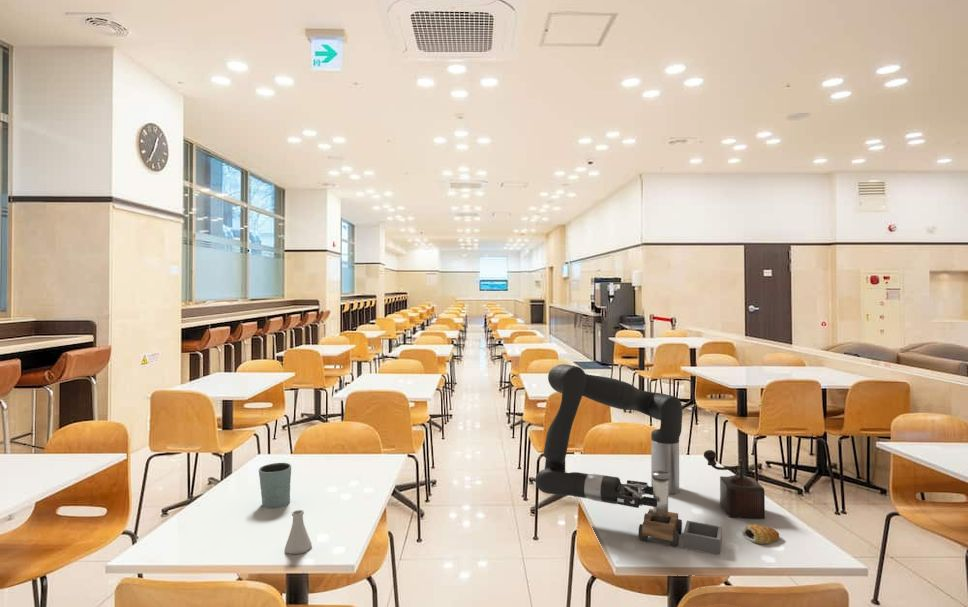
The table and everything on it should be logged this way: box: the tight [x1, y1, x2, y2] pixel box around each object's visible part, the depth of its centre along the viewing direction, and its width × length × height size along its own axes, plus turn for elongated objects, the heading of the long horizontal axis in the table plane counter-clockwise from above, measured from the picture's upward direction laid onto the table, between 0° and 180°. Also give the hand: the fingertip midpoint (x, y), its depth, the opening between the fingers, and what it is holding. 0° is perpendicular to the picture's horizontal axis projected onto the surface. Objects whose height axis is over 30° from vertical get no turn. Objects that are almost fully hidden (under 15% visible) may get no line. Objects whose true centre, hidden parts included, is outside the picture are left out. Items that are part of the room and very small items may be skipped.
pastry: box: [741, 523, 780, 545], centre depth 147 cm, size 9×7×4 cm
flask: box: [284, 509, 313, 555], centre depth 144 cm, size 7×7×10 cm
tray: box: [682, 520, 723, 556], centre depth 144 cm, size 9×9×4 cm
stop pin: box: [652, 471, 670, 524], centre depth 149 cm, size 5×5×15 cm
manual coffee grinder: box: [703, 449, 766, 520], centre depth 166 cm, size 16×11×18 cm
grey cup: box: [258, 462, 292, 509], centre depth 175 cm, size 10×10×12 cm
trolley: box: [638, 508, 683, 548], centre depth 150 cm, size 14×10×5 cm
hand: (659, 497), depth 149 cm, fingers open, 8 cm apart
